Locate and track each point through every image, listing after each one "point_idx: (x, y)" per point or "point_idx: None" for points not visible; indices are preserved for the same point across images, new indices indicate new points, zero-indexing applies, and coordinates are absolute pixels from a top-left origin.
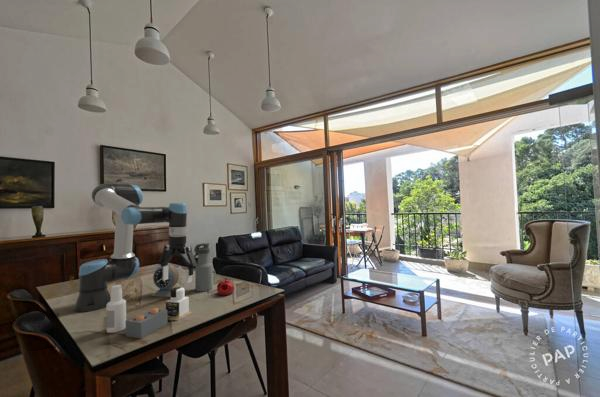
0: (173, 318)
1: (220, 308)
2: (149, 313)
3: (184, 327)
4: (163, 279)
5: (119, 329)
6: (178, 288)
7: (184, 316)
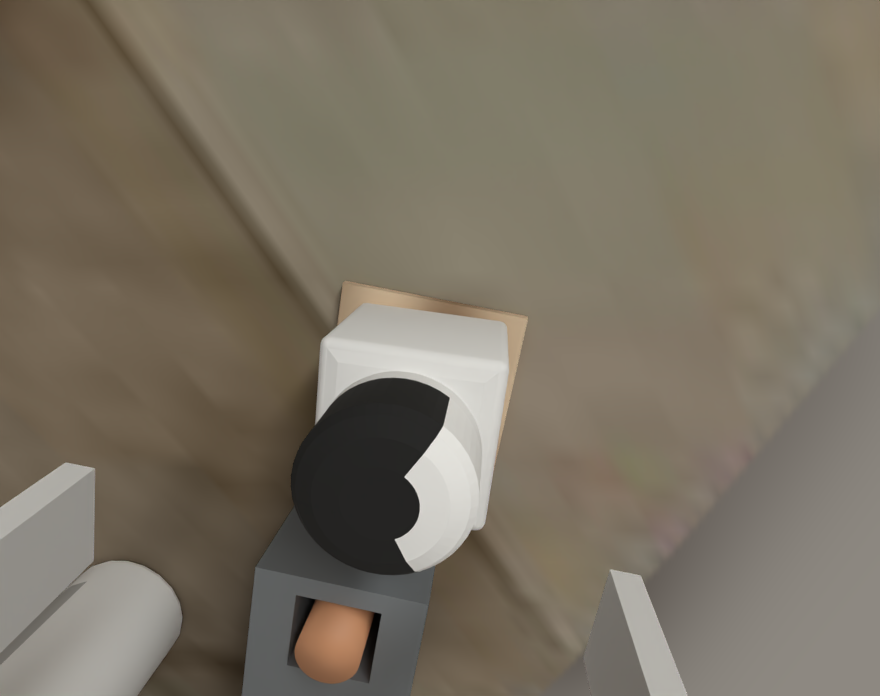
0: None
1: (803, 176)
2: None
3: None
4: (71, 572)
5: (172, 644)
6: (400, 512)
7: (508, 403)
